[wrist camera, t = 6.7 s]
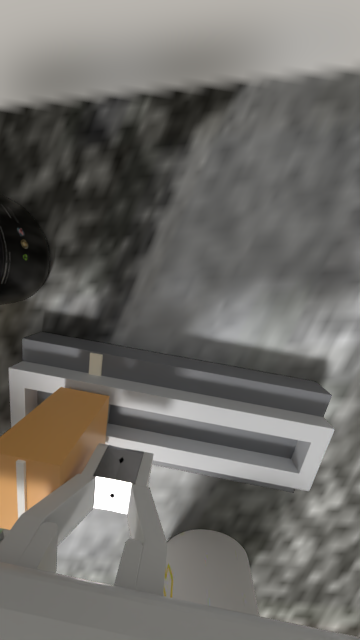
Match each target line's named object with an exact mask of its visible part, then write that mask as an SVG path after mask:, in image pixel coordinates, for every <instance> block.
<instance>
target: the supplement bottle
mask: <svg viewBox="0 0 360 640" xmlns="http://www.w3.org/2000/svg"><path fill="white" fill-rule="evenodd" d="M49 264H50V256H49V249H48V244H47V241H46V238H45V236H44V234H43V232H42V230H41V228H40V226H39V225H38V223H37V222H36V220H35V219H34V218H33V217H32V216H31V215H30V214H29V213H28V212H27V211H26V210H25V209H24V208H23V207H22V206H20V205H19V204H18V203H16V202H14V201H13V200H11V199H9V198H7V197H5V196H3V195H1V194H0V305H4V304H10V303H15V302H19V301H23V300H25V299H27V298H29V297H31V296H32V295H34V294H35V293H36V292H37V291H38V290H39V289H40V288H41V286H42V285H43V283H44V282H45V280H46V277H47V274H48V271H49Z"/></svg>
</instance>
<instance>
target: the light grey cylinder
mask: <svg viewBox="0 0 360 640" xmlns="http://www.w3.org/2000/svg"><path fill="white" fill-rule="evenodd" d="M167 545H168V546H167V557H166V568H165V579H164V590H163V596H166V597H170V598H175V599H180V600H185V601H189V602H194V603H199V604H204V605H208V606H213V607H218V608H223V609H227V610H232V611H237V612H242V613H246V614H251V615H256V616H259V611H258V606H257V601H256V596H255V590H254V585H253V580H252V575H251V570H250V565H249V560H248V556H247V553H246V551H245V550H244V548H243V547H242V546H241V545H240V544H239V543H238V542H237V541H236V540H234V539H233V538H231V537H230V536H228V535H226V534H223V533H220V532H217V531H213V530H205V529H196V530H189V531H185V532H182V533H180V534H177V535H176V536H174V537H173V538H171V539H170V540H169V541H168V542H167Z"/></svg>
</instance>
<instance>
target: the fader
mask: <svg viewBox="0 0 360 640" xmlns="http://www.w3.org/2000/svg"><path fill="white" fill-rule="evenodd" d="M109 415H110V404H109V396H106V395H101V394H96V393H91V392H85V391H80V390H75V389H70V388H64V387H60V388H59V389H58V390H57V391H55V392H54V393H53V394H52V395H50V396H49V397H48V398H47V399H46V400H44V401H43V402H42V403H41V404H40V405H38V406H37V407H36V408H35V409H34V410H32V411H31V412H30V413H29V414H27V415H26V416H25V417H24V418H23V419H21V420H20V421H19V422H18V423H17V424H15V425H14V426H13V427H12V428H10V429H9V430H8V431H7V432H6V433H4V434H3V435H2V436H1V437H0V528H3V529H8V530H10V529H11V528H12V527H13V525H14V524H15V523H16V521H17V520H18V518H19V517H20V516H21V514H23V513H24V512H26V511H27V510H28V509H30V508H31V507H32V506H34V505H35V504H37V503H38V502H39V501H41V500H42V499H44V498H45V497H46V496H48V495H49V494H50V493H52V492H53V491H55V490H56V489H57V488H59V487H60V486H62V485H63V484H64V483H66V482H67V481H68V480H70V479H71V478H73V477H74V476H75V475H77V474H81V473H82V471H83V470H84V468H85V466H86V464H87V463H88V461H89V459H90V457H91V456H92V454H93V452H94V450H95V449H96V447H97V445H98V444H99V443H102V444H105V440H106V429H107V423H108V422H109Z"/></svg>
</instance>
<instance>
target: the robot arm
mask: <svg viewBox="0 0 360 640" xmlns="http://www.w3.org/2000/svg"><path fill="white" fill-rule="evenodd" d="M153 456H154V454H153V453H147V452H143V451H137V450H132V449H125V448H120V447H116V446H111V445H106V444H102V443H99V444H98V445H97V447H96V449H95V450H94V452H93V454H92V456H91V457H90V459H89V461H88V463H87V464H86V466H85V468H84V470H83V471H82V473H81V474H77V475H75V476H74V477H73V478H71V479H70V480H68V481H67V482H66V483H64V484H63V485H62V486H60V487H59V488H57V489H56V490H55V491H53V492H52V493H50V494H49V495H48V496H46V497H45V498H44V499H42V500H41V501H39V502H38V503H37V504H35V505H34V506H32V507H31V508H30V509H28V510H27V511H26V512H24V513H23V514H21V516H20V517H19V518H18V520H17V521H16V523H15V524H14V525H13V527H12V528H11V529H10V531H9V532H8V534H7V535H6V536H5V538H4V539H3V540H2V542H1V543H0V640H360V637H356V636H351V635H346V634H341V633H337V632H332V631H327V630H322V629H318V628H313V627H308V626H303V625H299V624H294V623H289V622H284V621H280V620H275V619H270V618H265V617H261V616H256V615H251V614H246V613H242V612H237V611H232V610H227V609H223V608H218V607H213V606H208V605H204V604H199V603H194V602H189V601H185V600H180V599H175V598H170V597H166V596H163V590H164V579H165V568H166V557H167V546H168V545H167V542H166V539H165V536H164V532H163V529H162V526H161V523H160V520H159V516H158V513H157V510H156V507H155V504H154V501H153V497H152V494H151V491H150V488H149V487H148V484H149V479H150V473H151V467H152V462H153ZM93 508H99V509H105V510H111V511H115V512H119V513H123V514H127V518H128V525H129V531H130V537H131V539H128V540H127V541H126V542H125V546H124V550H123V554H122V557H121V561H120V565H119V569H118V573H117V576H116V580H115V584H114V585H109V584H105V583H100V582H95V581H90V580H86V579H81V578H76V577H72V576H67V575H62V574H57V573H56V569H57V546H58V545H59V544H60V543H61V542H62V541H63V540H64V539H65V538H66V537H67V536H68V535H69V534H70V533H71V532H72V530H73V529H74V528H75V527H76V526H77V525H78V524H79V523H80V522H81V521H82V520H83V519H84V518H85V517H86V516H87V515H88V514H89V513H90V512H91V510H92V509H93Z"/></svg>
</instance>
